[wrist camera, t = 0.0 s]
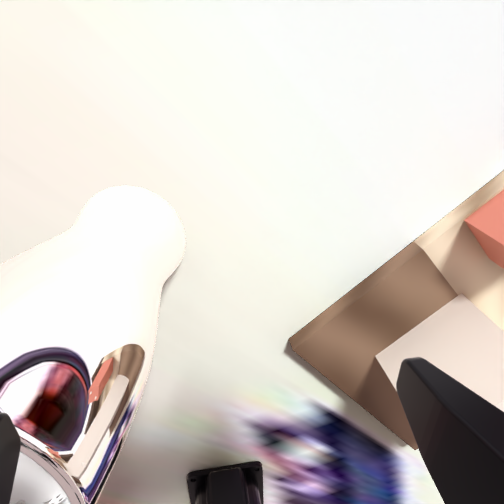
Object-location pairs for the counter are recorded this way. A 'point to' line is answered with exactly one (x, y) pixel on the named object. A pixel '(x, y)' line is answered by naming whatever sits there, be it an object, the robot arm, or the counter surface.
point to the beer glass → (83, 340)
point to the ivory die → (455, 349)
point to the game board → (402, 309)
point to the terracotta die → (490, 228)
